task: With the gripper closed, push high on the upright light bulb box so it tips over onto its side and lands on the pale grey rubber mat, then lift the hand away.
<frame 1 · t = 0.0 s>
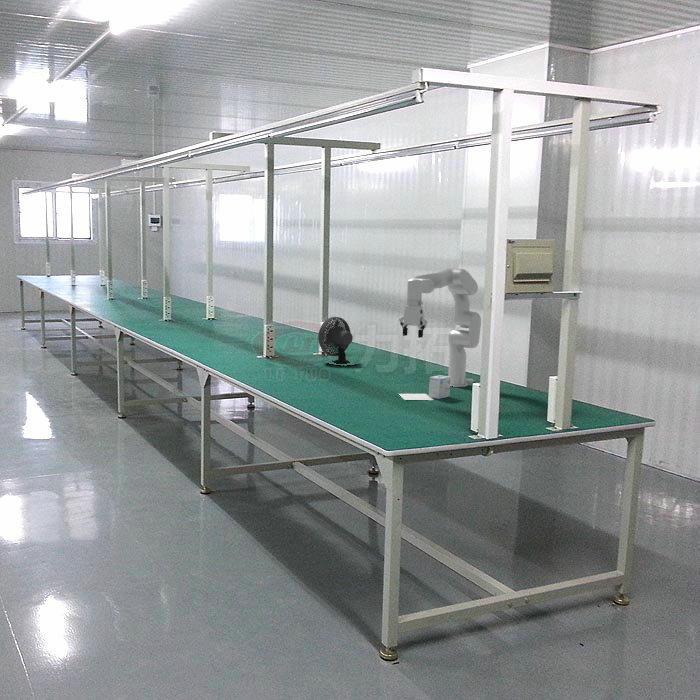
hand: (412, 336, 393), 31 cm above the table, tool pointing down, fingers open, 9 cm apart
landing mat: (415, 397, 393), on the table
light bulb box: (438, 397, 395), on the table, touching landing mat
fan: (337, 363, 497), on the table
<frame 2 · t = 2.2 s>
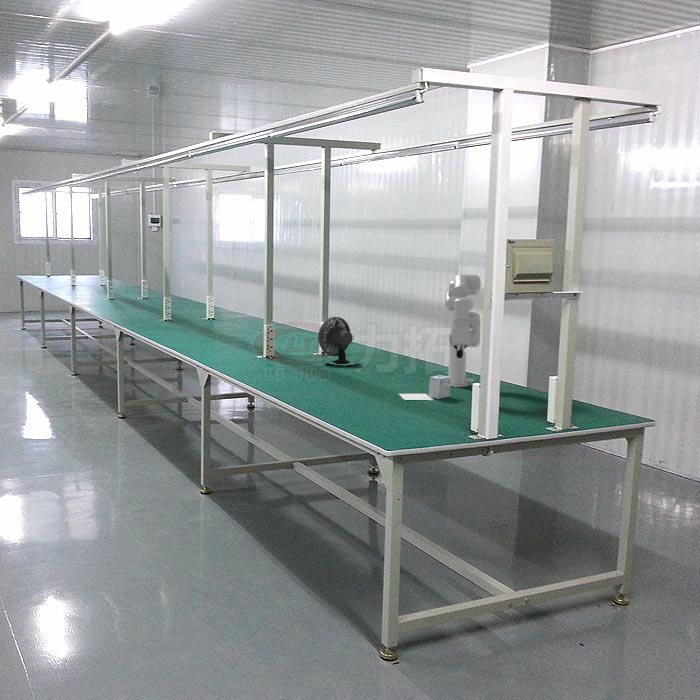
hand: (459, 357, 394), 21 cm above the table, tool pointing down, fingers closed
nothing on the table moved.
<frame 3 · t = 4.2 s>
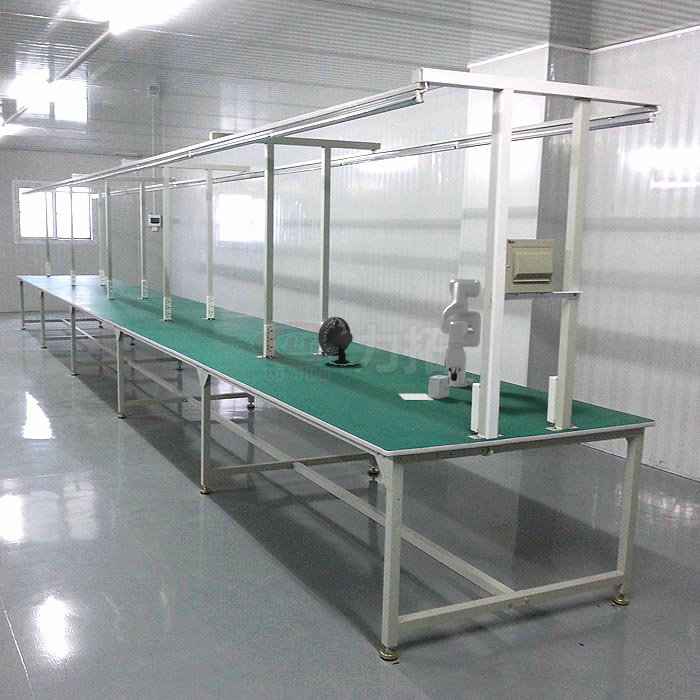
hand: (453, 380, 395), 9 cm above the table, tool pointing down, fingers closed
light bulb box: (438, 397, 395), on the table, touching gripper
everything else where it was.
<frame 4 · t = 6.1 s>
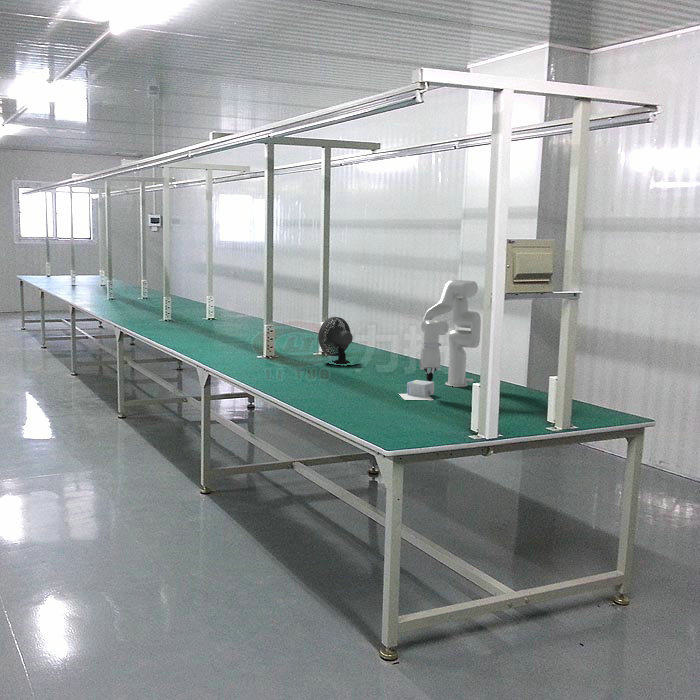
hand: (429, 380, 393), 9 cm above the table, tool pointing down, fingers closed
light bulb box: (430, 389, 396), point 4 cm above the table, touching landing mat
everything else where it was.
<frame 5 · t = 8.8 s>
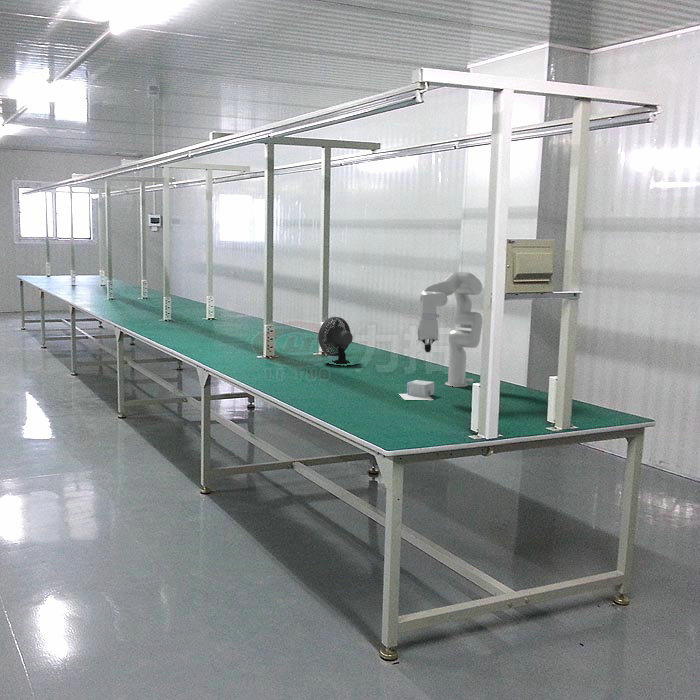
hand: (427, 352, 395), 23 cm above the table, tool pointing down, fingers closed
nothing on the table moved.
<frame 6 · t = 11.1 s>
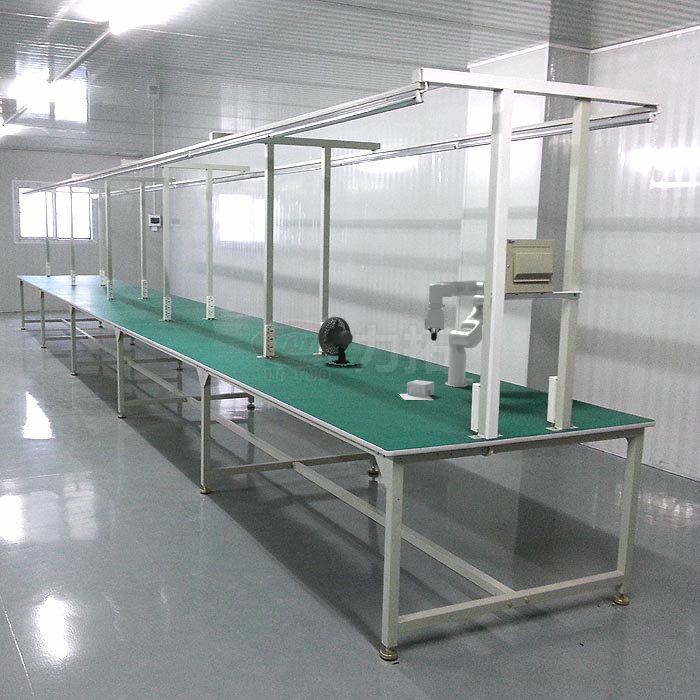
hand: (433, 340, 413), 27 cm above the table, tool pointing down, fingers closed
nothing on the table moved.
at the end: light bulb box tilted 91°; light bulb box touching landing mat; light bulb box inside the target area (3.2 cm from its centre), point 3.7 cm above the table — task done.
